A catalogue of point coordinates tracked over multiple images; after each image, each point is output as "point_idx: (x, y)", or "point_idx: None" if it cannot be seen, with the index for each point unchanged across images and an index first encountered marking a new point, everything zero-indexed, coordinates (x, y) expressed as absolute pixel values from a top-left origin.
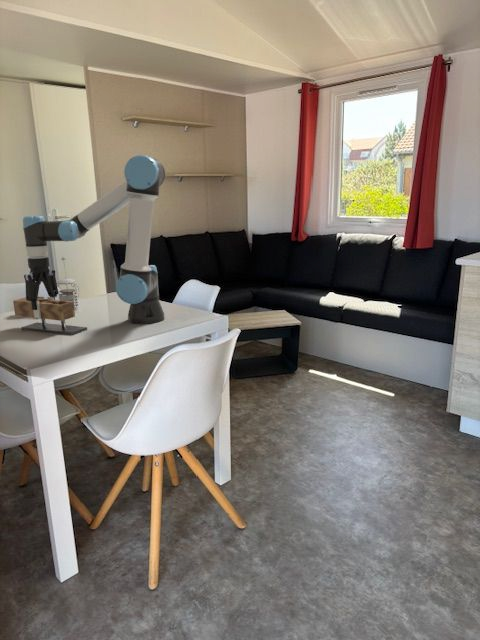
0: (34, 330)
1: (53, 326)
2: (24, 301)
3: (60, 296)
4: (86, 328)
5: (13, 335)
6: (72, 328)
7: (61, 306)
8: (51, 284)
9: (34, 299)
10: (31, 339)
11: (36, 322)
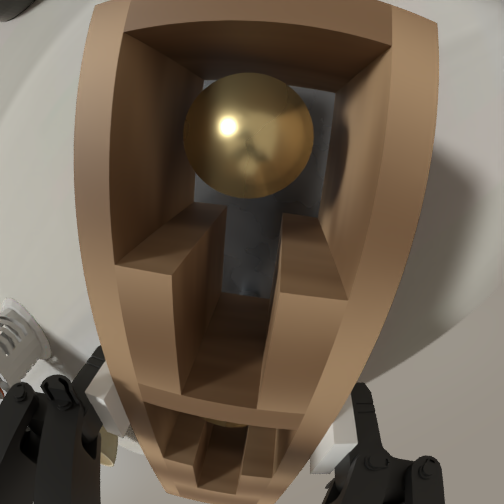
0: None
1: (240, 240)
2: (277, 492)
3: (11, 383)
4: None
5: (383, 351)
6: None
7: (406, 22)
8: (20, 498)
9: (388, 471)
10: (455, 225)
11: None
